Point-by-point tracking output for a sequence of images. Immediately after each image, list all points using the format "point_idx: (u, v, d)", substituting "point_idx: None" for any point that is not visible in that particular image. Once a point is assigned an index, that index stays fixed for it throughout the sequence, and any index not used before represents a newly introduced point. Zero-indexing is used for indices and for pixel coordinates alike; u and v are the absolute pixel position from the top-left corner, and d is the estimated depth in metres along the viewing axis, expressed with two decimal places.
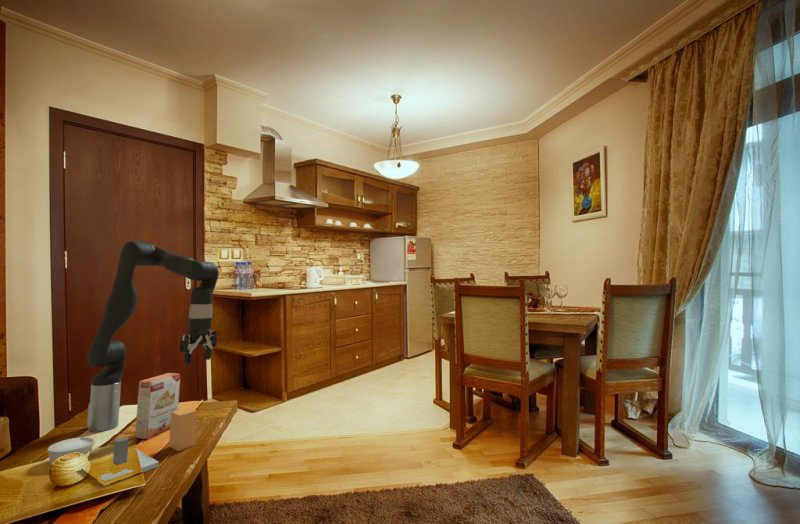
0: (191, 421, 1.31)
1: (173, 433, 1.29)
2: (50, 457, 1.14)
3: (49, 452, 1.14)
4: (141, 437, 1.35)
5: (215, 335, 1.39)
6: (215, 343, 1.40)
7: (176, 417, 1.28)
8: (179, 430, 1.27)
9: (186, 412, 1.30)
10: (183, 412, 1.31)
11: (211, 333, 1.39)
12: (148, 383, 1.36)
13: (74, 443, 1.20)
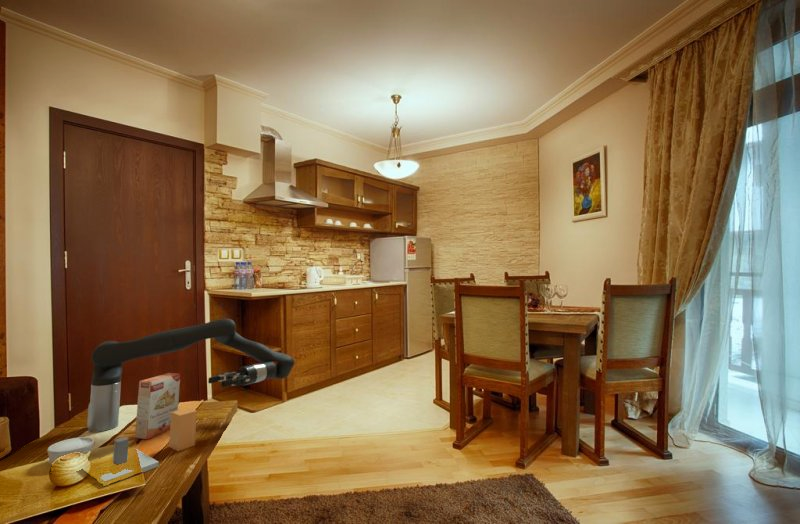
0: (191, 421, 1.31)
1: (173, 433, 1.29)
2: (50, 457, 1.14)
3: (49, 452, 1.14)
4: (141, 437, 1.35)
5: None
6: None
7: (176, 417, 1.28)
8: (179, 430, 1.27)
9: (186, 412, 1.30)
10: (183, 412, 1.31)
11: None
12: (148, 383, 1.36)
13: (74, 443, 1.20)
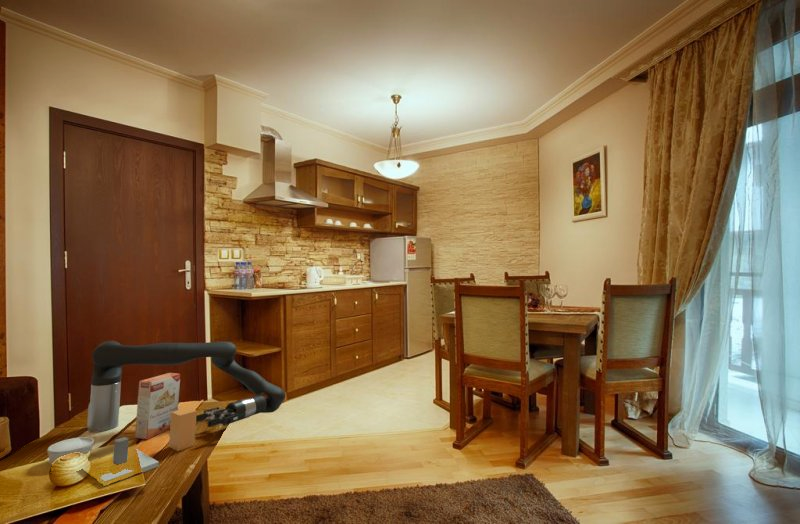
0: (191, 421, 1.31)
1: (173, 433, 1.29)
2: (50, 457, 1.14)
3: (49, 452, 1.14)
4: (141, 437, 1.35)
5: None
6: None
7: (176, 417, 1.28)
8: (179, 430, 1.27)
9: (186, 412, 1.30)
10: (183, 412, 1.31)
11: None
12: (148, 383, 1.36)
13: (74, 443, 1.20)
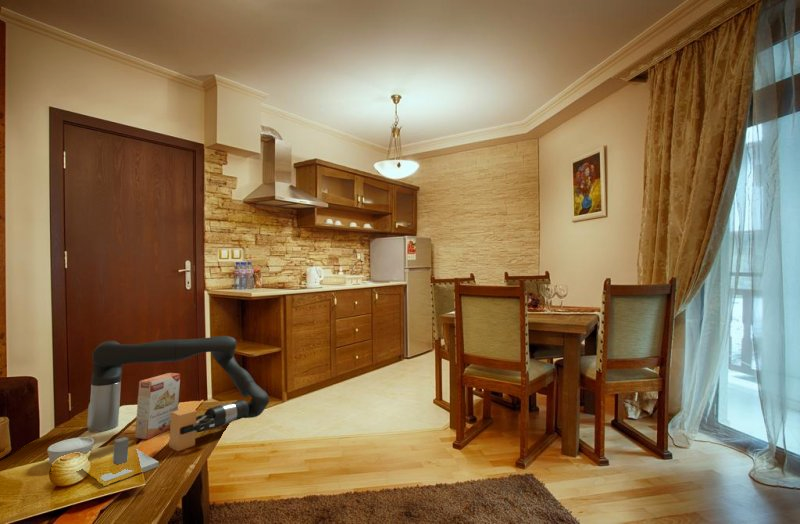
0: (191, 421, 1.31)
1: (173, 433, 1.29)
2: (50, 457, 1.14)
3: (49, 452, 1.14)
4: (141, 437, 1.35)
5: None
6: None
7: (176, 417, 1.28)
8: (179, 430, 1.27)
9: (186, 412, 1.30)
10: (183, 412, 1.31)
11: None
12: (148, 383, 1.36)
13: (74, 443, 1.20)
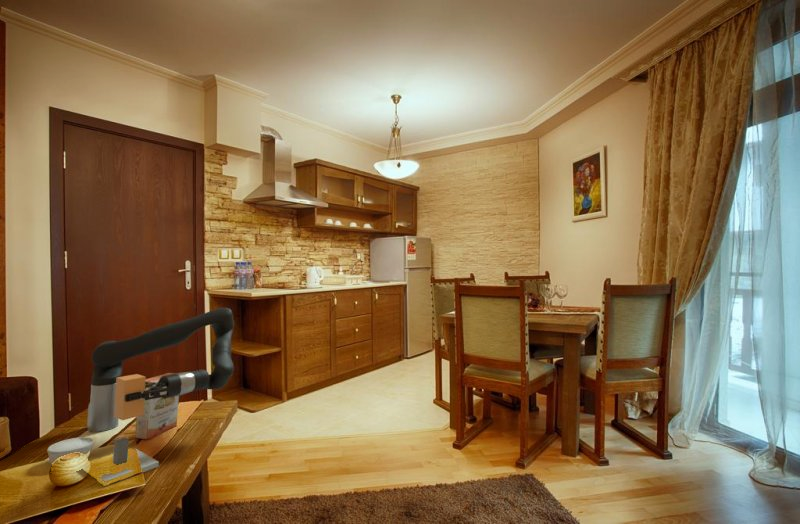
0: (139, 388, 1.17)
1: (118, 400, 1.15)
2: (50, 457, 1.14)
3: (49, 452, 1.14)
4: (141, 437, 1.35)
5: None
6: None
7: (121, 383, 1.15)
8: (124, 397, 1.14)
9: (133, 378, 1.17)
10: (130, 377, 1.17)
11: None
12: (148, 383, 1.36)
13: (74, 443, 1.20)
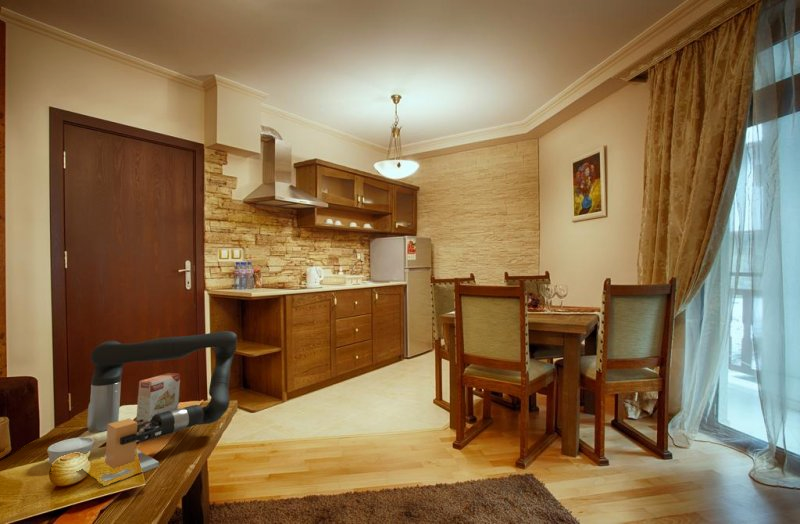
0: (130, 434, 1.15)
1: (109, 448, 1.13)
2: (50, 457, 1.14)
3: (49, 452, 1.14)
4: None
5: None
6: None
7: (112, 430, 1.13)
8: (115, 445, 1.12)
9: (125, 424, 1.15)
10: (121, 423, 1.15)
11: None
12: (148, 383, 1.36)
13: (74, 443, 1.20)
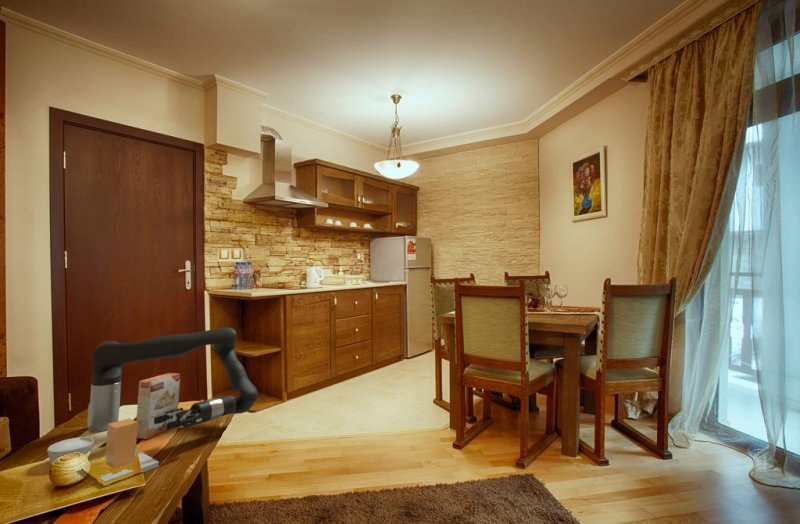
0: (130, 434, 1.15)
1: (109, 448, 1.13)
2: (50, 457, 1.14)
3: (49, 452, 1.14)
4: (141, 437, 1.35)
5: None
6: None
7: (112, 430, 1.13)
8: (115, 445, 1.12)
9: (125, 424, 1.15)
10: (121, 423, 1.15)
11: None
12: (148, 383, 1.36)
13: (74, 443, 1.20)
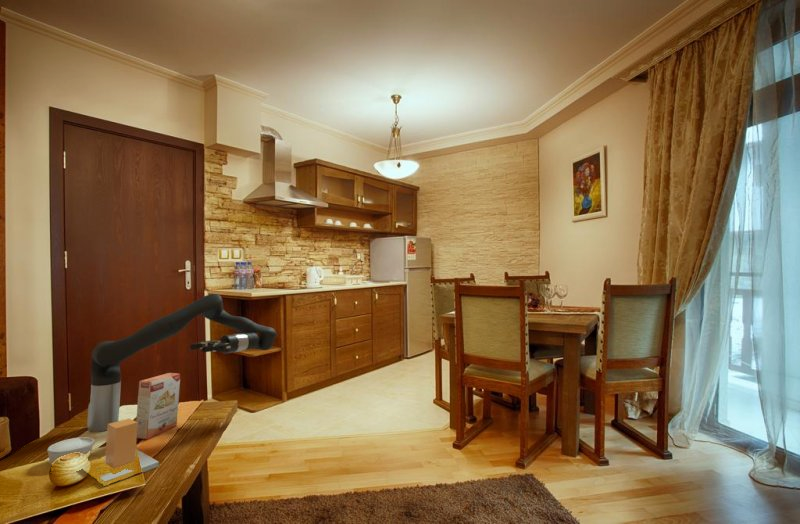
0: (130, 434, 1.15)
1: (109, 448, 1.13)
2: (50, 457, 1.14)
3: (49, 452, 1.14)
4: (141, 437, 1.35)
5: None
6: None
7: (112, 430, 1.13)
8: (115, 445, 1.12)
9: (125, 424, 1.15)
10: (121, 423, 1.15)
11: None
12: (148, 383, 1.36)
13: (74, 443, 1.20)
